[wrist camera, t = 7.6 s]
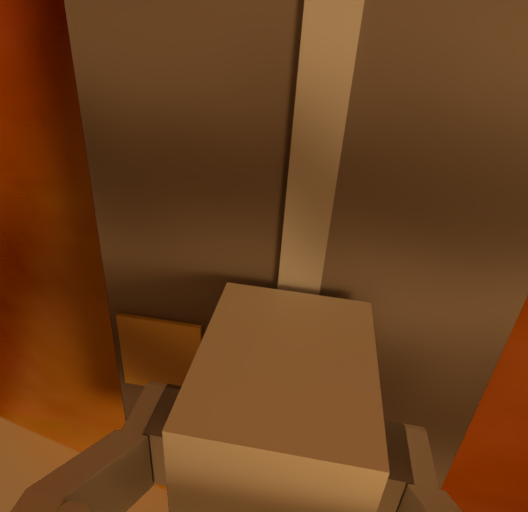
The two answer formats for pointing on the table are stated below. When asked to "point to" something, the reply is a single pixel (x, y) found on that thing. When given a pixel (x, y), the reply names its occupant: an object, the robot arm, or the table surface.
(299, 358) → the fader
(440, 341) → the track board
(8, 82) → the table surface
